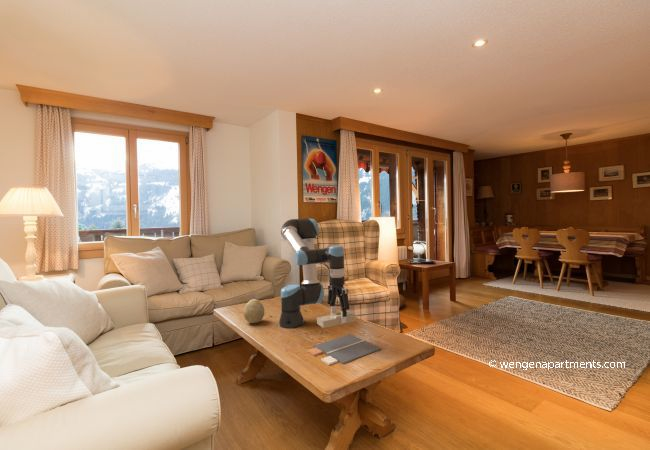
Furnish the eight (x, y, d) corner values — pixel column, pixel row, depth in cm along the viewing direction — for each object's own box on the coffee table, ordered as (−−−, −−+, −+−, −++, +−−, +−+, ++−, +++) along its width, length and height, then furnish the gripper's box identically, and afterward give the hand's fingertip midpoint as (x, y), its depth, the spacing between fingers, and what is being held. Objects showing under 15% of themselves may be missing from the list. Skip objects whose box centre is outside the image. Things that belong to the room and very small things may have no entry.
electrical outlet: (316, 315, 162) (347, 309, 170) (317, 323, 162) (347, 317, 170) (323, 319, 155) (354, 313, 163) (323, 327, 155) (354, 321, 163)
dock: (304, 349, 158) (304, 347, 158) (349, 335, 175) (349, 333, 175) (332, 367, 139) (332, 365, 139) (381, 349, 156) (381, 347, 156)
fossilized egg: (260, 318, 209) (259, 295, 209) (268, 323, 199) (267, 299, 198) (241, 322, 202) (240, 299, 202) (248, 327, 192) (247, 303, 191)
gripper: (319, 274, 169) (321, 317, 169) (344, 280, 152) (345, 327, 153) (331, 272, 173) (332, 314, 174) (356, 278, 156) (357, 324, 157)
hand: (338, 320), depth 163 cm, fingers closed on electrical outlet, 8 cm apart
